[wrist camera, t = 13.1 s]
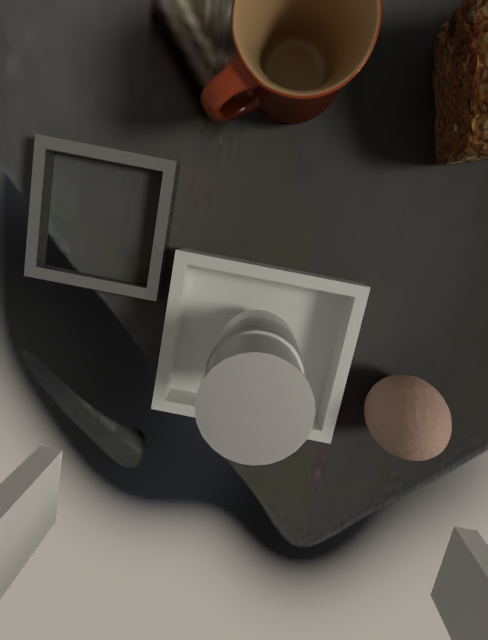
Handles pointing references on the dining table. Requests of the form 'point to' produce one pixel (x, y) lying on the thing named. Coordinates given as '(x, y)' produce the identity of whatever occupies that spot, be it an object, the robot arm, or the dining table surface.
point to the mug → (291, 57)
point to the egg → (408, 417)
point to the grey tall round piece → (255, 391)
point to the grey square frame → (41, 206)
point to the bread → (462, 85)
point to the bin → (257, 294)
